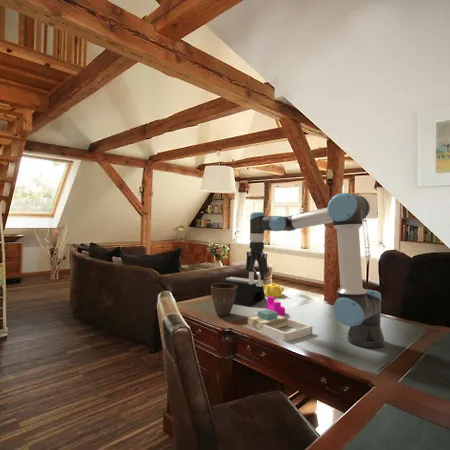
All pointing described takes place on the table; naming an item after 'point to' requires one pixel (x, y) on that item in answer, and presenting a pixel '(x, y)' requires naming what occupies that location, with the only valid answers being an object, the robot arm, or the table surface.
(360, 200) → the robot arm
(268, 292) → the teapot
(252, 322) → the plate
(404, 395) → the table surface
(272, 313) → the teal rectangular block
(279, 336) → the box
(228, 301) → the plant pot
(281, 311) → the magenta notched bracket
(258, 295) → the device stand
